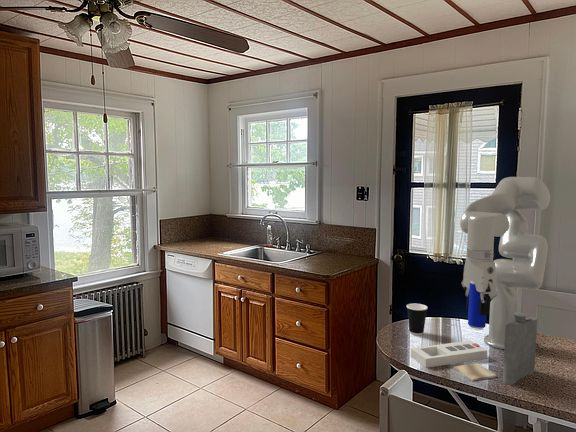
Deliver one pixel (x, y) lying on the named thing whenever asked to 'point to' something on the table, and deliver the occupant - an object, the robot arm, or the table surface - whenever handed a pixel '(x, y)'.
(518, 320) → the hip flask
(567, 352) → the table surface
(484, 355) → the power strip
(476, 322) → the beverage can
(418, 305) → the dixie cup
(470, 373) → the coaster pad
